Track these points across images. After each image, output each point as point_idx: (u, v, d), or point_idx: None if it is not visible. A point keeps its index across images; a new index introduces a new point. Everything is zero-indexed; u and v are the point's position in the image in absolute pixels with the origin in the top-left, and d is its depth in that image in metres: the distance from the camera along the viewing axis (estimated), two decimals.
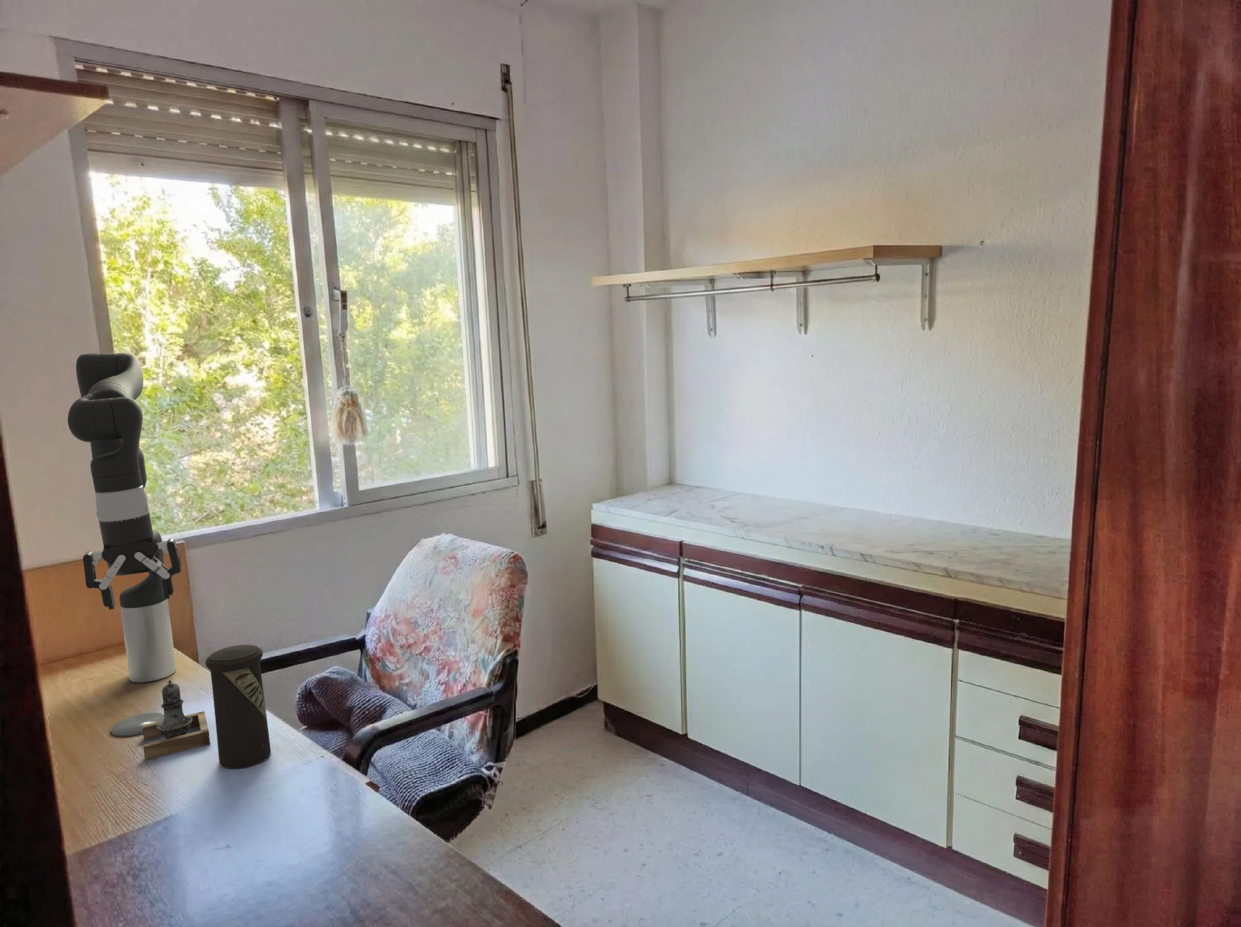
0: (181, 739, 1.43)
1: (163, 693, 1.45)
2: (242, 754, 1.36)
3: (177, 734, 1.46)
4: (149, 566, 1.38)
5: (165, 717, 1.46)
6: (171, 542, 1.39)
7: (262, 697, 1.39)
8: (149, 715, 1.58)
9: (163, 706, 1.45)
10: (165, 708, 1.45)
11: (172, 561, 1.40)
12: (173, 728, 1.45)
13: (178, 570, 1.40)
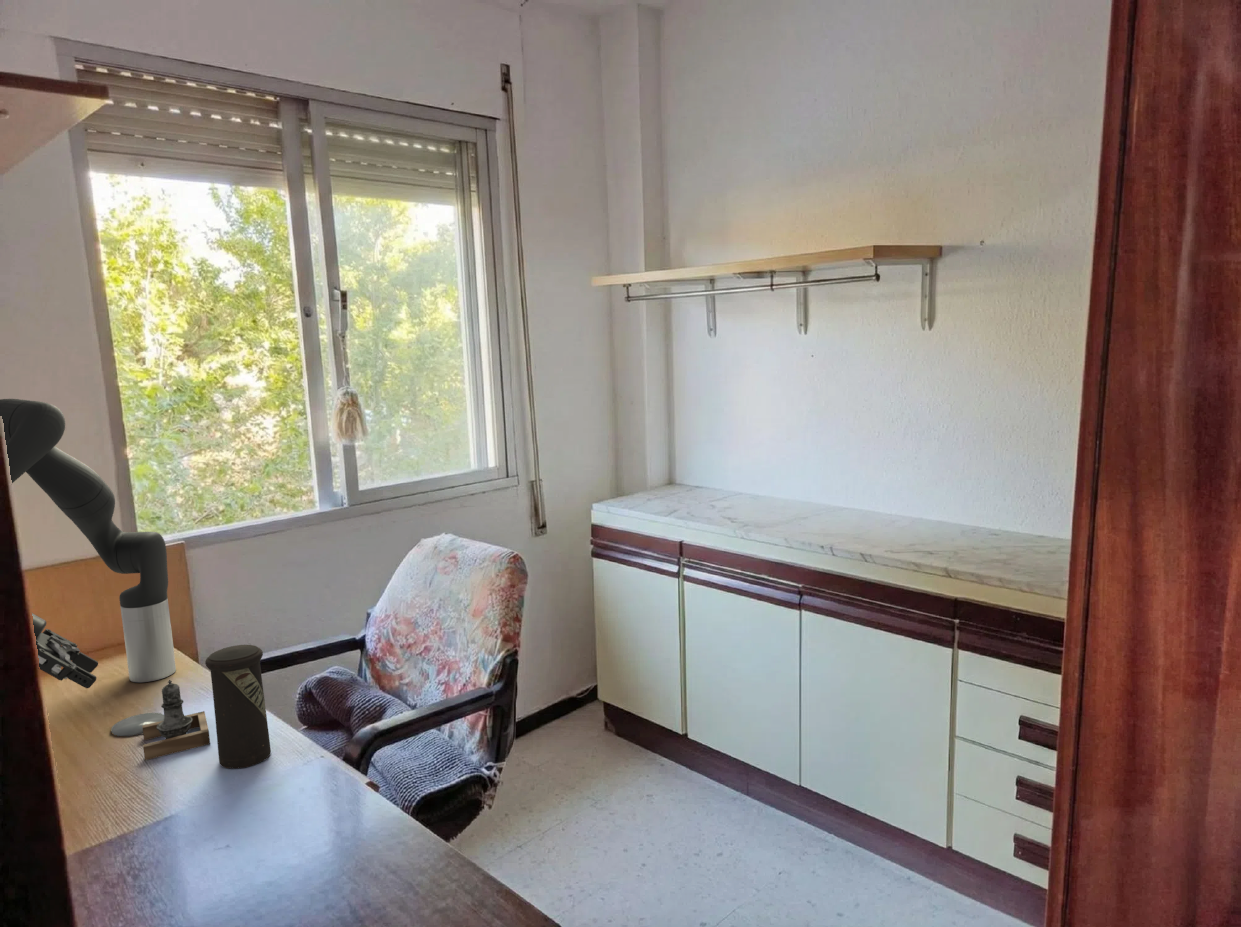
0: (181, 739, 1.43)
1: (163, 693, 1.45)
2: (242, 754, 1.36)
3: (177, 734, 1.46)
4: None
5: (165, 717, 1.46)
6: None
7: (262, 697, 1.39)
8: (149, 715, 1.58)
9: (163, 706, 1.45)
10: (165, 708, 1.45)
11: None
12: (173, 728, 1.45)
13: None
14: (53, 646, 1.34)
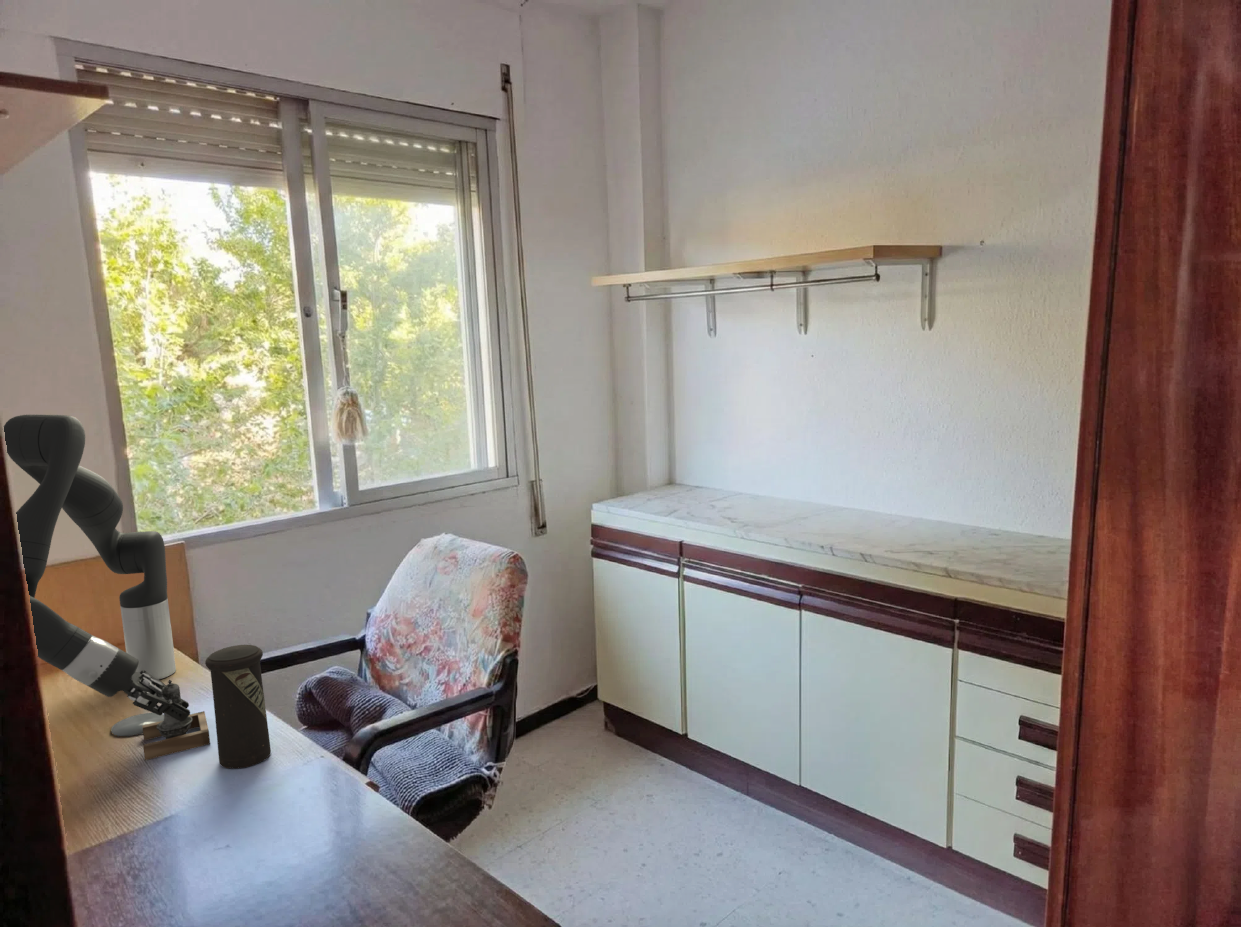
0: (181, 739, 1.43)
1: (163, 693, 1.45)
2: (242, 754, 1.36)
3: (177, 734, 1.46)
4: None
5: (165, 717, 1.46)
6: (134, 704, 1.38)
7: (262, 697, 1.39)
8: (149, 715, 1.58)
9: None
10: None
11: None
12: (173, 728, 1.45)
13: (158, 714, 1.42)
14: (148, 685, 1.43)
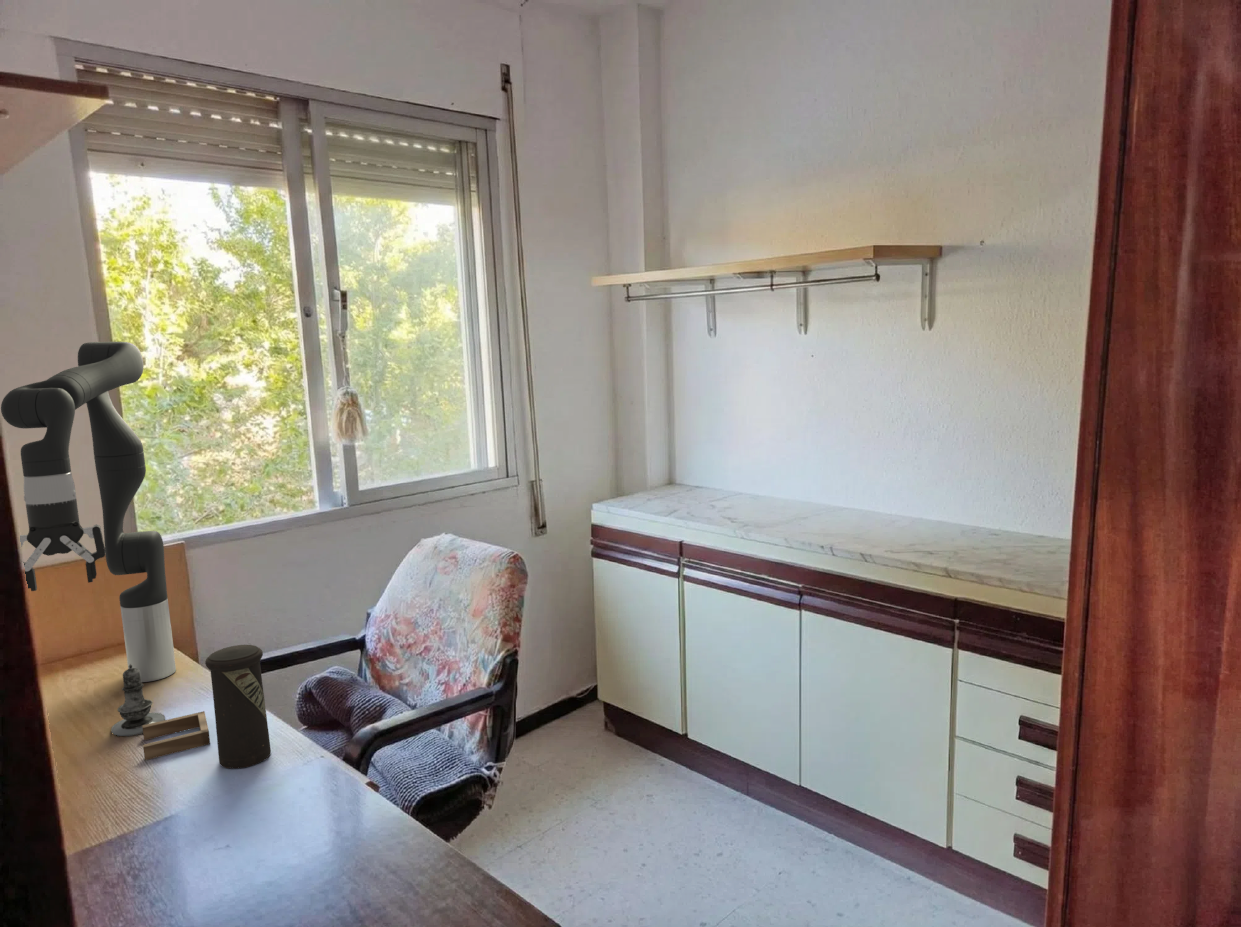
0: (181, 739, 1.43)
1: (124, 677, 1.52)
2: (242, 754, 1.36)
3: (137, 716, 1.52)
4: (74, 549, 1.44)
5: (125, 700, 1.53)
6: (97, 527, 1.46)
7: (262, 697, 1.39)
8: (149, 715, 1.58)
9: (124, 689, 1.52)
10: (125, 691, 1.52)
11: (97, 545, 1.47)
12: (133, 710, 1.52)
13: (102, 554, 1.47)
14: None
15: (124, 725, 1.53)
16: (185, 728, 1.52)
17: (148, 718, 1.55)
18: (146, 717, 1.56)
